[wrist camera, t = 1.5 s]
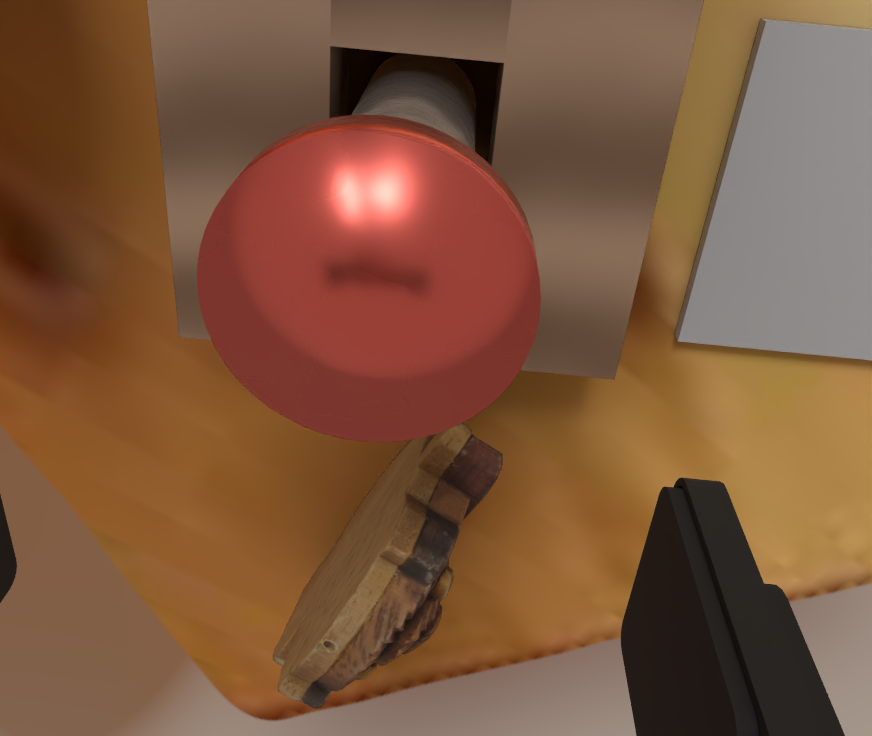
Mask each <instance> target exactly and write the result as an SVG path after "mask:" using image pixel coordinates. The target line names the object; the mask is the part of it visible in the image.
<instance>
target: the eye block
mask: <svg viewBox="0 0 872 736" xmlns="http://www.w3.org/2000/svg"><path fill="white" fill-rule="evenodd" d="M703 2H704V0H147V6H148V17H149V27H150V38H151V48H152V59H153V69H154V79H155V90H156V100H157V111H158V121H159V132H160V142H161V153H162V163H163V173H164V184H165V194H166V205H167V215H168V226H169V236H170V246H171V257H172V267H173V278H174V288H175V299H176V309H177V319H178V330H179V337H184V338H194V339H204V340H211V337H210V335H209V333H208V331H207V328H206V326H205V323H204V319H203V316H202V312H201V309H200V304H199V297H198V291H197V263H198V256H199V249H200V245H201V241H202V238H203V235H204V231H205V228H206V226H207V224H208V221H209V219H210V217H211V215H212V213H213V211H214V209H215V207H216V206H217V204H218V203H219V201H220V200H221V199H222V197H223V196H224V194H225V193H226V191H227V190H228V189H229V187H230V186H231V185H232V184H233V182H234V181H235V180H236V178H237V177H238V176H239V175H240V173H241V172H242V171H243V170H244V169H245V168H246V166H247V165H248V164H249V163H250V162H251V161H252V160H253V159H254V158H255V157H256V156H257V155H258V154H259V153H260V152H262V151H263V150H264V149H265V148H267V147H268V146H269V145H270V144H272V143H273V142H274V141H276V140H278V139H279V138H281V137H283V136H285V135H286V134H288V133H290V132H291V131H293V130H296V129H298V128H301V127H303V126H306V125H308V124H311V123H313V122H317V121H321V120H325V119H329V118H333V117H339V116H347V97H348V57H349V48H355V49H365V50H376V51H386V52H396V53H406V54H417V55H427V56H437V57H447V58H458V59H468V60H478V61H488V62H499V68H498V77H497V85H496V94H495V102H494V110H493V119H492V127H491V136H490V144H489V153H488V161H487V162H488V163H489V164H490V165H491V166H492V167H493V168H494V169H495V171H496V172H497V173H498V174H499V175H500V176H501V177H502V178H503V179H504V181H505V182H506V183H507V185H508V186H509V188H510V189H511V190H512V192H513V193H514V195H515V196H516V198H517V200H518V202H519V204H520V206H521V208H522V209H523V211H524V213H525V215H526V218H527V221H528V224H529V226H530V229H531V232H532V235H533V240H534V245H535V250H536V255H537V262H538V270H539V278H540V293H541V305H540V316H539V323H538V327H537V331H536V335H535V339H534V342H533V345H532V347H531V349H530V352H529V354H528V357H527V359H526V361H525V362H524V364H523V366H522V368H521V369H520V370H522V371H532V372H542V373H552V374H562V375H573V376H583V377H593V378H603V379H614V380H615V376H616V372H617V367H618V363H619V359H620V355H621V350H622V346H623V342H624V338H625V333H626V329H627V325H628V321H629V316H630V312H631V308H632V304H633V299H634V295H635V291H636V287H637V282H638V278H639V274H640V270H641V265H642V261H643V257H644V253H645V248H646V244H647V240H648V236H649V231H650V227H651V223H652V219H653V214H654V210H655V206H656V202H657V197H658V193H659V189H660V185H661V180H662V176H663V172H664V168H665V163H666V159H667V155H668V151H669V146H670V142H671V138H672V134H673V129H674V125H675V121H676V117H677V112H678V108H679V104H680V100H681V95H682V91H683V87H684V83H685V78H686V74H687V70H688V66H689V61H690V57H691V53H692V49H693V44H694V40H695V36H696V32H697V27H698V23H699V19H700V15H701V10H702V6H703Z"/></svg>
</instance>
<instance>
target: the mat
mask: <svg viewBox="0 0 872 736" xmlns="http://www.w3.org/2000/svg"><path fill="white" fill-rule="evenodd" d="M675 336H676V338H677V341H679V342H689V343H699V344H709V345H720V346H730V347H740V348H750V349H761V350H771V351H781V352H791V353H801V354H812V355H822V356H832V357H842V358H853V359H863V360H872V29H864V28H854V27H844V26H834V25H823V24H813V23H803V22H793V21H782V20H772V19H762V18H761V19H760V23H759V26H758V30H757V34H756V37H755V41H754V45H753V49H752V52H751V56H750V60H749V63H748V67H747V71H746V74H745V78H744V82H743V85H742V89H741V93H740V96H739V100H738V104H737V107H736V111H735V115H734V118H733V122H732V126H731V129H730V133H729V137H728V140H727V144H726V148H725V151H724V155H723V159H722V162H721V166H720V170H719V174H718V177H717V181H716V185H715V188H714V192H713V196H712V199H711V203H710V207H709V210H708V214H707V218H706V221H705V225H704V229H703V232H702V236H701V240H700V243H699V247H698V251H697V254H696V258H695V262H694V265H693V269H692V273H691V276H690V280H689V284H688V287H687V291H686V295H685V299H684V302H683V306H682V310H681V313H680V317H679V321H678V324H677V328H676V332H675Z"/></svg>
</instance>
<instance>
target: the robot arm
mask: <svg viewBox="0 0 872 736" xmlns="http://www.w3.org/2000/svg"><path fill="white" fill-rule="evenodd" d="M16 567H17V563H16V557H15V553H14V549H13V545H12V541H11V537H10V532H9V528H8V524H7V520H6V516H5V512H4V508H3V504H2V500H1V495H0V603H1V601H2V600H3V598H4V597H5V595H6V594H7V592H8V591H9V589H10V587H11V586H12V584H13V581H14V578H15V575H16ZM621 647H622V655H623V660H624V666H625V672H626V677H627V683H628V688H629V695H630V700H631V706H632V711H633V717H634V723H635V729H636V735H637V736H845V735H844V733H843V730H842V728H841V725H840V723H839V720H838V718H837V716H836V714H835V711H834V709H833V706H832V704H831V702H830V699H829V697H828V694H827V692H826V689H825V687H824V685H823V682H822V680H821V678H820V675H819V673H818V670H817V668H816V666H815V663H814V661H813V659H812V656H811V654H810V651H809V649H808V647H807V644H806V642H805V640H804V637H803V635H802V632H801V630H800V628H799V625H798V623H797V620H796V618H795V616H794V613H793V611H792V608H791V606H790V604H789V601H788V599H787V597H786V596H785V594H784V592H783V590H782V589H781V588H779V587H778V586H777V585H772V584H764V583H763V580H762V578H761V575H760V573H759V570H758V568H757V565H756V563H755V560H754V558H753V555H752V552H751V550H750V547H749V545H748V542H747V540H746V537H745V535H744V532H743V530H742V527H741V525H740V522H739V519H738V517H737V514H736V512H735V509H734V507H733V504H732V502H731V499H730V497H729V494H728V492H727V489H726V487H725V485H724V484H723V483H722V482H719V481H709V480H699V479H689V478H679V479H678V480H677V481H676V483H675V485H674V488H673V487H663V488H662V490H661V492H660V494H659V497H658V501H657V504H656V508H655V511H654V515H653V518H652V522H651V525H650V529H649V532H648V536H647V539H646V543H645V546H644V550H643V553H642V556H641V560H640V563H639V567H638V570H637V574H636V577H635V581H634V584H633V588H632V591H631V595H630V598H629V602H628V605H627V609H626V612H625V616H624V619H623V623H622V630H621Z"/></svg>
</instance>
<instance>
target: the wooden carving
mask: <svg viewBox="0 0 872 736" xmlns="http://www.w3.org/2000/svg"><path fill="white" fill-rule="evenodd" d="M501 467H502V453H500V452H499V451H497V450H495V449H494V448H492V447H491V446H489V445H487V444H485V443H484V442H483V441H481V440H479V439H477V438H475V437H474V436H473V435H472V431H471V429H470V428H468V427H467V426H466V425H464V424H463V423H461V424H459V425H457V426H455V427H452V428H450V429H448V430H445V431H443V432H440V433H437V434H433V435H430V436H426V437H423V438H418V439H412V440H411V441H410V442H409V443H408V444H407V446H406V447H405V448H404V449H403V450H402V451H401V452H400V453H399V455H398V456H397V457H396V458H395V459H394V460H393V462H392V463H391V464H390V465H389V466H388V468H387V469H386V470H385V472H384V473H383V474H382V475H381V476H380V478H379V479H378V481H377V482H376V484H375V485H374V487H373V488H372V489H371V490H370V492H369V493H368V494H367V496H366V497H365V499H364V500H363V501H362V503H361V504H360V506H359V508H358V509H357V511H356V512H355V514H354V515H353V517H352V519H351V520H350V522H349V523H348V525H347V526H346V528H345V529H344V531H343V533H342V534H341V536H340V538H339V540H338V541H337V543H336V545H335V546H334V548H333V549H332V551H331V552H330V554H329V555H328V556H327V558H326V559H325V560H324V561H323V563H322V564H321V565H320V566H319V567H318V569H317V570H316V572H315V573H314V574H313V576H312V577H311V579H310V580H309V582H308V583H307V585H306V587H305V588H304V590H303V592H302V594H301V596H300V598H299V601H298V603H297V605H296V607H295V609H294V611H293V613H292V615H291V617H290V619H289V621H288V623H287V625H286V628H285V630H284V632H283V635H282V637H281V639H280V641H279V643H278V644H277V646H276V648H275V651H274V654H273V660H274V661H275V662H276V663H278V664H280V665H282V666H283V667H282V670H281V674H280V678H279V684H278V691H279V692H280V693H282V694H284V695H285V696H287V697H289V698H291V699H293V700H296V701H301V702H304V703H305V704H307V705H309V706H310V707H312V708H319V707H322V705H323V704H324V702H325V701H326V700H327V698H328V696H329V694H330V692H331V691H332V690H333V691H339V690H342V689H343V688H344V687H345V686H347V685H348V684H350V683H351V682H352V681H354V680H355V679H357V680H359V679H365V678H366V677H367V676H368V675H369V674H370V673H372V672H373V671H374V670H375V669H376V667H377V664H379V665H381V666H382V665H386V664H388V663H389V662H391V661H392V660H394V659H395V658H397V657H398V656H400V655H401V654H406V653H408V652H411V651H413V650H414V649H415V648H417V647H418V646H420V645H421V644H422V643H424V642H425V641H426V640H427V639H429V638H430V637H431V635H432V634H433V632H434V631H435V629H436V628H437V626H438V624H439V622H440V619H441V615H442V606H441V605H440V601H441V600H442V599H444V598H445V596H446V595H447V594H448V592H449V589H450V587H451V584H452V581H453V578H454V577H453V572H452V569H451V568H450V567H449V556H450V554H451V552H452V550H453V548H454V545H455V542H456V539H457V536H458V534H459V530H460V528H461V525H462V522H463V520H464V519H465V518H466V516H467V515H468V514H469V513H470V512H471V511H472V510H473V509H474V508H475V507H476V506H477V504H478V503H479V502H480V501H481V500H482V499H483V497H484V496H485V495H486V494H487V492H488V491H489V490H490V489H491V487H492V486H493V484H494V483H495V481H496V480H497V478H498V475H499V473H500V471H501Z"/></svg>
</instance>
